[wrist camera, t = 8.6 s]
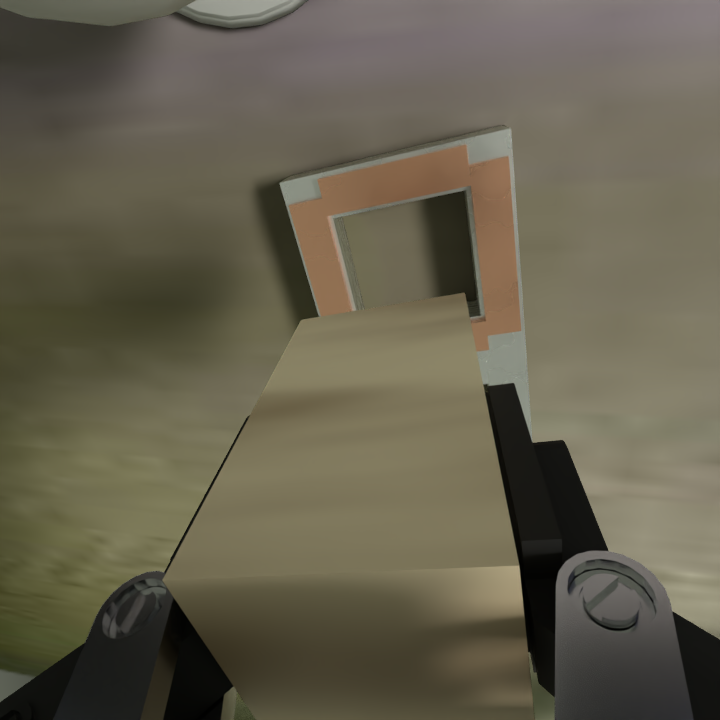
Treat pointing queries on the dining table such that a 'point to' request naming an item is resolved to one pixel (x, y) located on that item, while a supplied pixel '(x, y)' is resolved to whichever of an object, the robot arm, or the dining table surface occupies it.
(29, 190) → the dining table surface
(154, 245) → the dining table surface
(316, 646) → the peg
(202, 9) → the chalice
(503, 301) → the rail
